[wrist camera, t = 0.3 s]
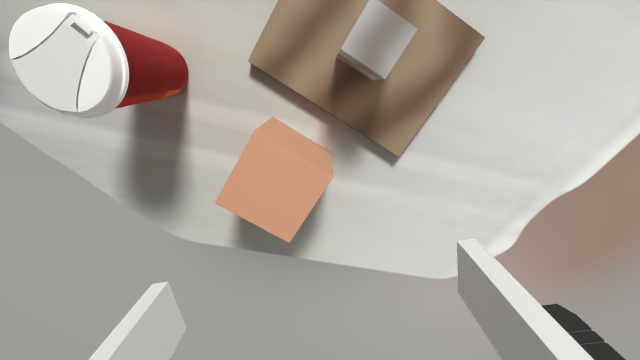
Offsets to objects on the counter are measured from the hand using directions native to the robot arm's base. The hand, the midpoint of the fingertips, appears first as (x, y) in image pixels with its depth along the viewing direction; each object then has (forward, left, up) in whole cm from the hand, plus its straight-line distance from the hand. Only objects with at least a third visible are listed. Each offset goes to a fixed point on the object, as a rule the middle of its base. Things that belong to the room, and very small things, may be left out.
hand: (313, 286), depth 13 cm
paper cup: (-20, -1, -24) cm, 32 cm away
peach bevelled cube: (-3, -3, -24) cm, 25 cm away
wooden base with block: (-2, +13, -24) cm, 27 cm away
